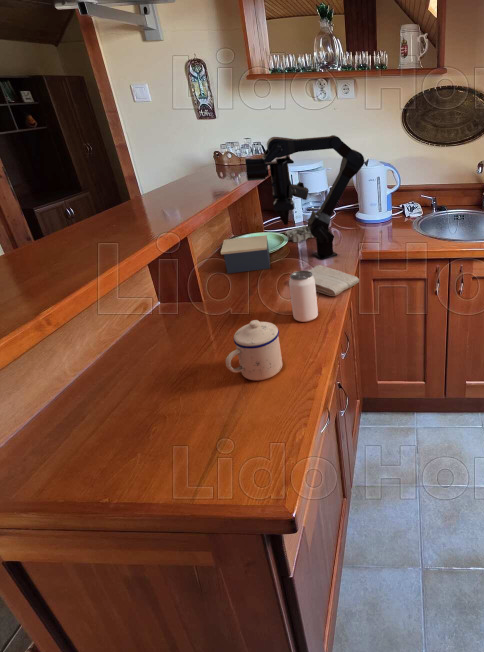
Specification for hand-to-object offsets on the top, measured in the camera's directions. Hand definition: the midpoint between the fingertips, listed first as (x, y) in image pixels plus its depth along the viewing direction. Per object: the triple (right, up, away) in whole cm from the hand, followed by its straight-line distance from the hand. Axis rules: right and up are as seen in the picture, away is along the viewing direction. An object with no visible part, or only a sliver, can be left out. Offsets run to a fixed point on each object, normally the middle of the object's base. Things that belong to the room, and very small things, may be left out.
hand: (286, 224), depth 142 cm
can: (+12, -28, -31) cm, 44 cm away
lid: (-14, -7, 0) cm, 16 cm away
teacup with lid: (+6, -38, -52) cm, 64 cm away
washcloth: (+15, -20, -13) cm, 28 cm away
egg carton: (0, -3, +27) cm, 27 cm away
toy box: (-13, -13, +3) cm, 19 cm away
